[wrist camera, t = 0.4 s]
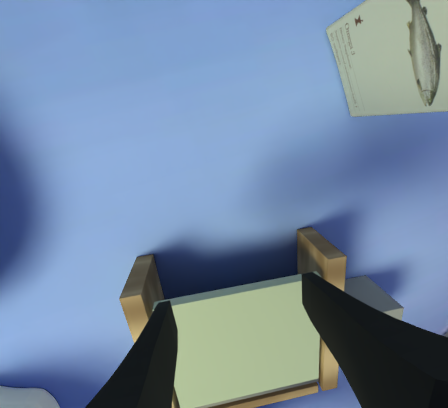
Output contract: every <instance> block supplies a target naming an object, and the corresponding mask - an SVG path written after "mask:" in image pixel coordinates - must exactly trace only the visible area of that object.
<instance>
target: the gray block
mask: <svg viewBox="0 0 448 408" xmlns="http://www.w3.org/2000/svg"><path fill="white" fill-rule="evenodd" d="M344 292H346V293H347V294H349V295H351V296H352V297H354V298H356V299H358V300H360V301H362V302H363V303H365V304H367V305H369V306H371V307H373V308H375V309H377V310H379V311H381V312H383V313H385V314H388V315H390V316H392V317H394V318H396V319H399V320H402V314H403V309H404V307H402V306H401V305H400V304H399V303H398V302H397V301H395V300H394V299H393V298H392V297H391V296H390V295H388V294H387V293H386V292H385V291H384V290H382V289H381V288H380V287H379V286H378V285H377V284H375V283H374V282H373V281H372V280H371V279H370V278H368V277H367V276H366V275H364V276H359V277H354V278H349V279H345V285H344Z"/></svg>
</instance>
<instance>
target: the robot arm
mask: <svg viewBox="0 0 448 408" xmlns="http://www.w3.org/2000/svg"><path fill="white" fill-rule="evenodd" d="M302 304H303V306H304V309H305V311H306V313H307V315H308V317H309V319H310V321H311V322H312V324H313V326H314V327H315V329H316V330H317V332H318V333H319V335H320V336H321V338H322V340H323V341H324V343H325V344H326V346H327V347H328V349H329V350H330V352H331V353H332V355H333V356H334V358H335V360H336V361H337V363H338V364H339V366H340V368H341V369H342V371H343V373H344V375H345V376H346V378H347V380H348V382H349V384H350V386H351V388H352V390H353V391H354V393H355V395H356V397H357V399H358V401H359V403H360V405H361V407H362V408H448V337H445V336H442V335H438V334H435V333H433V332H430V331H427V330H424V329H421V328H419V327H416V326H414V325H411V324H409V323H406V322H404V321H401V320H399V319H396V318H394V317H392V316H390V315H388V314H385V313H383V312H381V311H379V310H377V309H375V308H373V307H371V306H369V305H367V304H365V303H363V302H362V301H360V300H358V299H356V298H354V297H352V296H351V295H349V294H347V293H346V292H344V291H342V290H341V289H339V288H337V287H336V286H334V285H333V284H331V283H329V282H328V281H326V280H325V279H323V278H321V277H320V276H318V275H317V274H315V273H313V272H308V273H303V274H302ZM177 353H178V329H177V325H176V321H175V317H174V314H173V310H172V306H171V302H170V300H169V301H164V302H159V303H158V304H157V305H156V307H155V309H154V311H153V313H152V315H151V316H150V318H149V320H148V322H147V324H146V325H145V327H144V329H143V330H142V332H141V334H140V335H139V337H138V339H137V340H136V342H135V343H134V345H133V346H132V348H131V349H130V351H129V353H128V354H127V356H126V357H125V358H124V360H123V361H122V363H121V364H120V366H119V367H118V368H117V370H116V371H115V372H114V374H113V375H112V376H111V377H110V379H109V380H108V381H107V383H106V384H105V385H104V386H103V387H102V389H101V390H100V391H99V392H98V393H97V395H96V396H95V397H94V398H93V399H92V400H91V402H90V403H89V404H88V405H87V406H86V407H85V408H172V398H173V389H174V380H175V371H176V362H177Z"/></svg>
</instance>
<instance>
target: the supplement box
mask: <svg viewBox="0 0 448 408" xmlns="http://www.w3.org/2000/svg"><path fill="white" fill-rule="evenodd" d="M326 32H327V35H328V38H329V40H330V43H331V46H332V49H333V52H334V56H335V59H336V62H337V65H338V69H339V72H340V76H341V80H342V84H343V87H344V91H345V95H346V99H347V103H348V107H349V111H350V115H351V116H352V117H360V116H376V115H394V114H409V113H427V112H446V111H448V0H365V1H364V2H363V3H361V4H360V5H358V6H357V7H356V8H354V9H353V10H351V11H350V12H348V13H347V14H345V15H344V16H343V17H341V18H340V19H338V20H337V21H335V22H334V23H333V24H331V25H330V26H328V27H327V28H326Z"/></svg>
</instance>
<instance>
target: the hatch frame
mask: <svg viewBox="0 0 448 408" xmlns="http://www.w3.org/2000/svg"><path fill="white" fill-rule="evenodd" d="M346 258H347V256H346V255H345V254H343V253H342V252H341V251H340V250H339V249H337V248H336V247H335V246H334V245H333V244H331V243H330V242H329V241H328V240H327V239H325V238H324V237H323V236H322V235H321V234H319V233H318V232H317V231H316V230H315V229H313V228H312V227H308V228H303V229H297V261H298V274H303V273H308V272H314V271H317V272H318V273H319V274H320V276H321V277H322V278H323V279H325V280H326V281H328V282H329V283H331V284H333V285H334V286H336V287H337V288H339V289H341V290H342V291H344V285H345V272H346ZM119 299H120V302H121V305H122V308H123V311H124V314H125V317H126V320H127V323H128V326H129V329H130V332H131V335H132V338H133V341H134V343H135V342H136V340H137V339H138V337H139V335H140V334H141V332H142V330H143V329H144V327H145V325H146V324H147V322H148V320H149V318H150V316H151V315H152V313H153V305H154V302H156V301H161V300H165V299H164V295H163V291H162V287H161V284H160V280H159V276H158V272H157V268H156V264H155V260H154V256H153V254H152V255H146V256H140V257H137V258H136V260H135V262H134V265H133V267H132V270H131V272H130V274H129V277H128V279H127V281H126V284H125V286H124V289H123V291H122V293H121V296H120V298H119ZM338 367H339V364H338V363H337V361H336V360H335V358H334V356H333V355H332V353H331V352H330V350H329V349H328V347H327V346H326V344H325V343H324V341H323V340H322V338H321V336H320V346H319V378H318V379H319V381H318V382H319V384H320V387H321V389H322V391H325V390H330V389H334V388H337V381H338ZM317 392H318V384H317V382H314V383H310V384H305V385H301V386H297V387H293V388H288V389H284V390H280V391H276V392H271V393H267V394H263V395H259V396H255V397H250V398H246V399H242V400H238V401H233V402H229V403H225V404H221V405H216V406H212V407H208V408H255V407H259V406H263V405H267V404H271V403H276V402H280V401H284V400H288V399H292V398H296V397H300V396H305V395H309V394H313V393H317ZM172 408H180V405H179V401H178V398H177V394H176V391H175V387H174V389H173V398H172Z"/></svg>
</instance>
